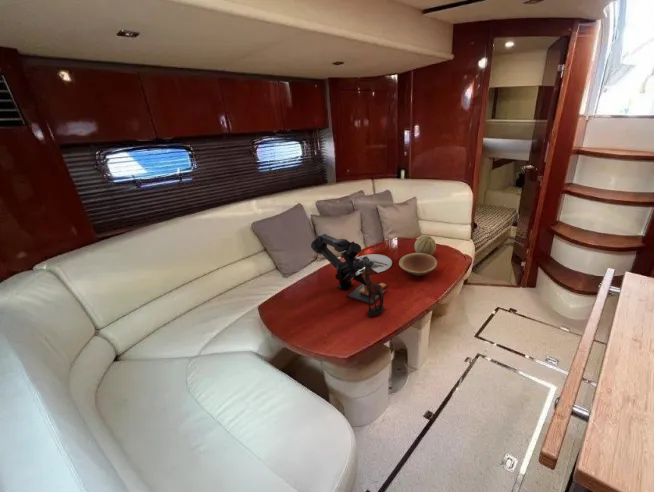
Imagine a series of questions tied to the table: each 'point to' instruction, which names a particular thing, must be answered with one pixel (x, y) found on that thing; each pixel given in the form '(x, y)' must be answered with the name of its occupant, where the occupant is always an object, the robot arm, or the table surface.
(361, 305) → the table surface
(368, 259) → the robot arm
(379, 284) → the block
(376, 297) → the board
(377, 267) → the plate
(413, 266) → the bowl
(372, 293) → the statue
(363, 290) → the tan wooden tall post
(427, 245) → the cantaloupe
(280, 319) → the table surface
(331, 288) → the table surface
